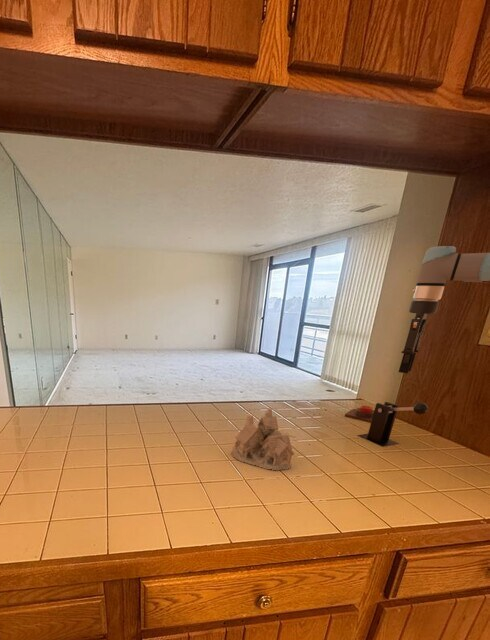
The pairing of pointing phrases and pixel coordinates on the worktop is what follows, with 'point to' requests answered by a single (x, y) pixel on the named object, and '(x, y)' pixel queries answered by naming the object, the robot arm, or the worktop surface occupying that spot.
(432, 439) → the worktop surface
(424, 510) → the worktop surface
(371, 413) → the button block
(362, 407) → the red button
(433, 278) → the robot arm
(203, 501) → the worktop surface
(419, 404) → the switch lever
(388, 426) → the bracket
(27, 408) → the worktop surface
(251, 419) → the ceramic cottage
